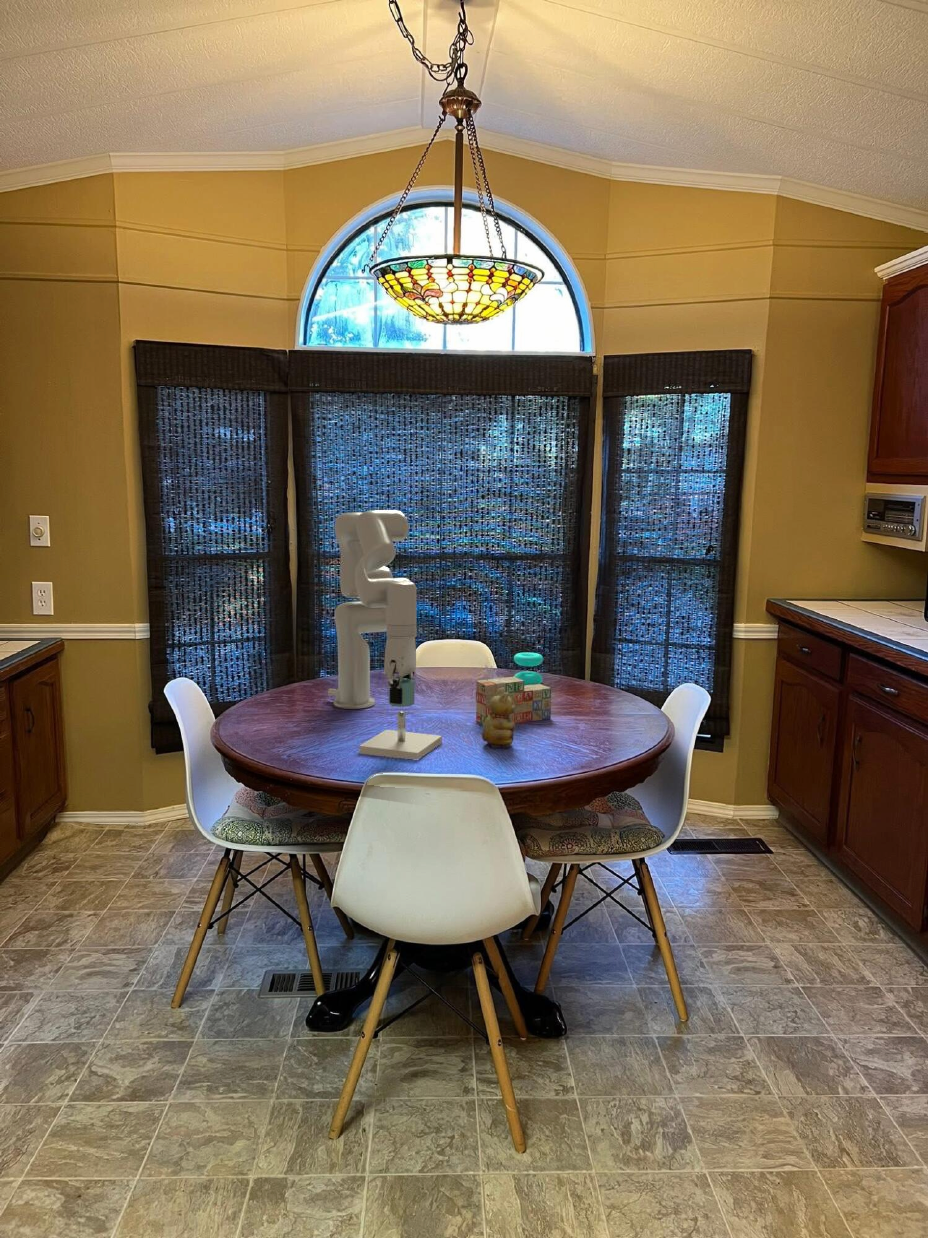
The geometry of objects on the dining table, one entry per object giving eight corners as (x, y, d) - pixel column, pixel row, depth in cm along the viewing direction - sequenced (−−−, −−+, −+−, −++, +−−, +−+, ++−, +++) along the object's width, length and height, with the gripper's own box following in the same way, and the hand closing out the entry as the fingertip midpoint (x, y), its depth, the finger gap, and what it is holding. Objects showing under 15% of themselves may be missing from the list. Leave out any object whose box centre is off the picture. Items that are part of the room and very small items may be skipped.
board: (359, 753, 225) (359, 716, 224) (386, 736, 240) (386, 702, 239) (417, 760, 220) (417, 723, 218) (441, 743, 235) (442, 708, 233)
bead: (385, 705, 226) (385, 682, 226) (395, 700, 232) (395, 677, 231) (407, 707, 224) (407, 684, 223) (417, 702, 230) (417, 679, 229)
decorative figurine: (518, 749, 230) (519, 692, 228) (488, 751, 228) (489, 694, 226) (506, 739, 239) (507, 684, 237) (476, 741, 237) (477, 685, 235)
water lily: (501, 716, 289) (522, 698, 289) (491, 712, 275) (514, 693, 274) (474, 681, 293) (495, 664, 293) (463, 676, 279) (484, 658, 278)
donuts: (542, 657, 299) (512, 656, 300) (541, 687, 300) (512, 685, 302) (544, 652, 309) (515, 651, 310) (543, 680, 310) (514, 679, 311)
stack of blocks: (540, 714, 266) (540, 673, 264) (551, 719, 260) (552, 677, 258) (475, 722, 257) (476, 679, 255) (485, 727, 251) (486, 684, 249)
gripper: (401, 624, 235) (402, 692, 237) (372, 634, 219) (373, 706, 221) (428, 626, 232) (428, 694, 235) (400, 636, 216) (401, 709, 219)
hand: (401, 699), depth 228 cm, fingers closed on bead, 6 cm apart
